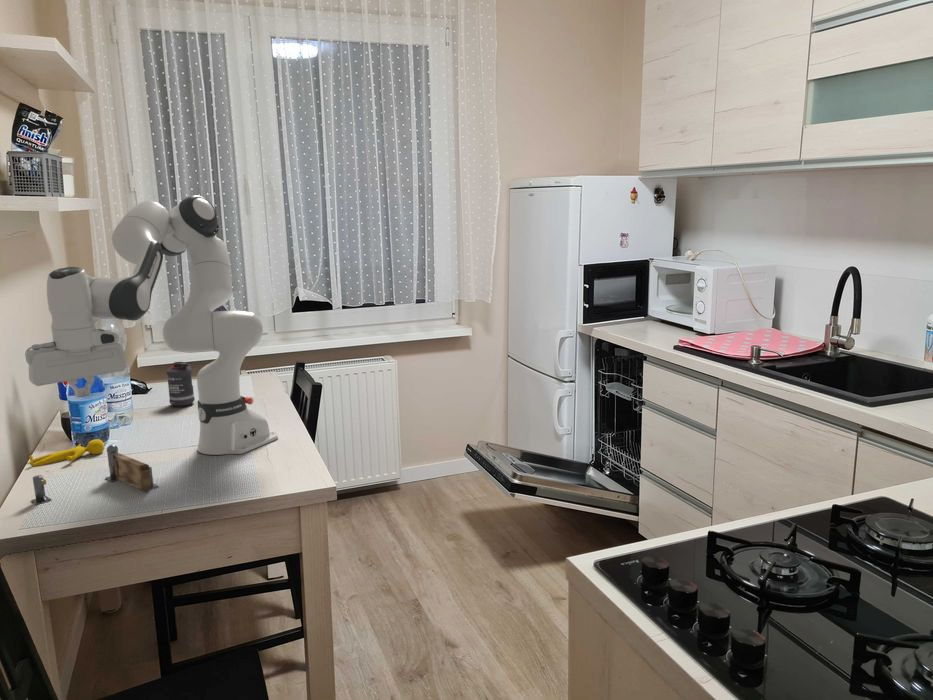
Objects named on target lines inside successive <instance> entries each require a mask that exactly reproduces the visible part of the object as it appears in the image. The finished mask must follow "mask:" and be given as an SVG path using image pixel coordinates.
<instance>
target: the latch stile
mask: <svg viewBox="0 0 933 700" xmlns="http://www.w3.org/2000/svg"><path fill="white" fill-rule="evenodd" d="M32 482H33V490H34V495H35V496H34V497H35V498H33V499H31V500H30V501H31V503H33V504H34V505H36V506H37V505H41V504H44V503H47V502H51V501H52V499H51V498H50V497H49V496H47V495H46V489H45V485H47V480H46V479H45V478H44V476H43V475H41V474H40V475H34V476H33V477H32Z"/></svg>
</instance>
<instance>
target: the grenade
mask: <svg viewBox="0 0 933 700" xmlns="http://www.w3.org/2000/svg"><path fill="white" fill-rule="evenodd" d="M172 364H173V365H172V366H171V367H168V369H166V375H167V386H168V387H167V388H168V396H169V404H170V405H172V406H174V407H175V408H183V407H188V406H190V405H192V403H194V402H195V394H194V385H193V381H192V373H193V368H192V367H191V365H190V364H189V363H188V362H185V361H175V362H173V363H172Z"/></svg>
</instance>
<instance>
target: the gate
mask: <svg viewBox="0 0 933 700" xmlns="http://www.w3.org/2000/svg"><path fill="white" fill-rule="evenodd" d="M113 459H114V467H115V475H116V479H118V480H117V481H121V482H124V483H127V484H128V485H130V486H133V487H135V488H137V489H139V490H142V491H143V492H147V491H151V490H152V489H151V481H150V472H149V467H150V465H149V464H148V463H145V462H142V461H140V460H137V459H134V458H132V457H129V456H127V455H124V454H122V453H119V452H118V454H115V455H113Z"/></svg>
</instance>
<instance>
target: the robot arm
mask: <svg viewBox="0 0 933 700" xmlns="http://www.w3.org/2000/svg"><path fill="white" fill-rule="evenodd" d="M218 221H219V219H218V215H217V211H216V209H215V207H214V205H213V204H212V203H211V202H210V201H209V200H208V199H206V198H205V197H203V196H201V195H197V194H196V195H190V196H187V197H185V198H184V199H182V200H181V201H180V202H179V203H178V204H176V205H175V206H174V207H172V208H171V209H169V210H167V209H166V208H165V207H164V206H163V205H162V204H160V203H159V202H157V201H154V200H144V201H140V202H139V203H137V204H136V205H134V206H133V208H131V209H130V210H129V211H128V212H127V213H126V214H125V215H124V216H123V217H122V219H120V221H119V223H117V225H116V227H115V228H114V230H113V233H112V236H111V241H112V242H111V243H112V245H113V249H114V250H115V251H116V253H117V254H118V255H119V256H120V257H121V258H122V259H123V260H125V261H127V262H128V263H131V264H133V265H135V267H134V270H133V271H132V274H131V275H129V276H127V277H120V278H100V277H99V278H98V277H94V276H91V275H89V274H88V273H86V270H85V269H84V268H82V267H78V266H68V267H67V266H66V267H62V268H56V269H55V270H53V271H52V272H49V273H48V275H47V280H46V298H47V306H48V307H47V308H48V311H49V314H50V315H51V320H52V322H51V325H50V326H51V327H50V328H51V334H52V341H50V342H44V343H40V344H39V343H38V344H37V343H35V344H33V345H31V346H30V347H28V348H27V349H26V350H25V354H24V355H25V361H26V363H27V364H28V378H29V381H30V383H31V384H32V385H34V386H36V387H42V386H47V385H52V384H57V383H64V382H67V385H69V387H71V388H72V390H73V392H74V396H75V398H77V399H79V398H84V397H88V396H89V397H90V396H91V395H92V393H91V388H92V387H93V384H94V382H95V377H96V376H103V375H107V374H112V373H113V374H114V373H119V372H124V371H125V370H126V368H127V365H128V364H127V363H128V362H127V358H126V354H125V350H124V347H123V346H122V344H120V343H119V341H120V335H119V334H117V333H116V332H113V331H111V330H106V329H101V328H96V322H95V320H94V319H105V320H106V319H107V320H108V319H109V320H112V319H113V320H116V319H117V320H123V321H132V322H133V321H138V320H140V319H141V318H142V317H143V316H144V315H145V314H147V312H148V310H149V308H150V306H151V301H152V293H153V290H154V287H155V285H156V282H157V279H158V276H159V274H160V271H161V268H162V264H163V260H164V255H165V256H168V257H176V256H179V255H181V254H184V253H185V252H186V251H187V253H188V254H189V258H190V267H189V269H190V271H189V272H190V285H189V286H190V288H189V295H188V297H187V300H186V302H185V303H184V305H183V306H182V307H181V308H180V309H179V310H178V311H177V312H175V313H174V314H172V315H171V316H170V317H168V318H167V320H166V321H165V323H164V324H163V325H164V326H163V328H162V329H163V330H162V337H163V340H164V342H165V344H166V346H167V347H168V348H169V349H170V350H172V351H173V352H178V353H179V352H181V353H186V354H187V353H189V354H193V353H195V354H196V353H206V352H209V353H210V352H217V353H218V354H219V355H218V357H217V358H216V359H215V360H213V361H212V362H210V363H208V364H206V365H204V366H203V367H201V369H200V370H199V371H198V373H197V375H196V383H197V393H198V394H197V395H198V400H197V411H198V413H197V414H198V415H197V416H198V420H199V437H198V443H197V448H196V450H197V451H198V453H201V454H204V455H212V456H213V455H215V456H217V455H218V456H221V455H230V454H231V455H241V454H245V453H247V452H249V451H252V450H254V449H256V448H259V447H262V446H264V445H266V444H269V443H270V442H273V441H276V440H277V439H278V438H279V436H278V433H277V432H275V431H274V430H271V429H270V427H269V423H268V421H267V419H266V418H265V416H263V415H261V414H259V413H257V412H256V411H254V410H253V409H251V408H249V407H248V406H247V405H252V404H253V403H254V402H255V401H254V398H253V397H251V396H246V397H245V396H242V395H241V388H240V377H241V376H240V373H241V367H242V364H243V362H244V360H245V358H246V356H247V355H248V354H249V352H251V350H252V349H253V348H254V347H256V346H257V345H258V344H259V343H260V341H261V339H262V336H263V332H264V331H263V324H262V321H261V320H260V318H259V316H258V315H257V314H256V313H255V312H251V311H246V310H238V309H236V310H235V309H233V310H222V311H221V310H220V311H216V309H218V308H220V307H222V306H223V305H225V304H226V303H227V302H228V301H229V300H230V299H231V297H232V295H233V279H232V265H231V260H230V253H229V251H228V248H227V245H226V243H225V242H224V241H223V240H222V239H221V238H219V237H217V236H216V235H217V234H218V233H219V229H220V225H219V224H218ZM80 379H84V380H85V381H86V382H85V385H84V387H81V388H78V386H77V384H78V380H80Z"/></svg>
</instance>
